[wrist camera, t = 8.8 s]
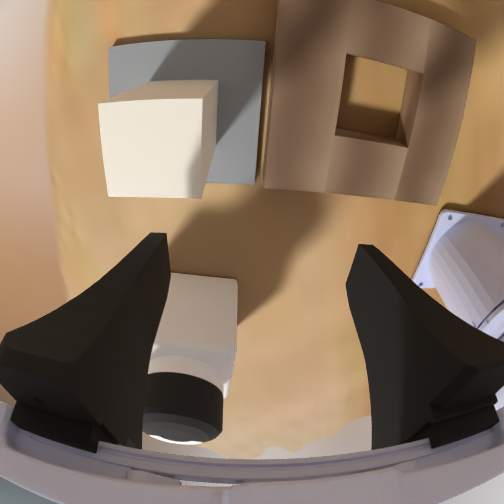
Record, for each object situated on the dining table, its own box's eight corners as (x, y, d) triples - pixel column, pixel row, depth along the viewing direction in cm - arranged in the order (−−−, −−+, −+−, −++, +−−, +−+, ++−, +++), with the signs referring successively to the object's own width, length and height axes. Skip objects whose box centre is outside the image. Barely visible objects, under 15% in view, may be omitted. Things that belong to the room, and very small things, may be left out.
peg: (218, 80, 15) (202, 98, 10) (216, 145, 18) (201, 198, 12) (149, 81, 15) (98, 103, 10) (151, 144, 18) (108, 196, 12)
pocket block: (458, 37, 13) (475, 40, 11) (424, 192, 20) (436, 205, 19) (278, -12, 12) (282, -19, 11) (262, 175, 20) (264, 188, 18)
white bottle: (149, 267, 24) (109, 405, 15) (238, 277, 25) (236, 422, 15) (155, 324, 28) (131, 442, 19) (229, 333, 29) (226, 454, 19)
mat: (265, 41, 15) (265, 41, 14) (254, 181, 20) (254, 184, 20) (111, 46, 14) (108, 47, 14) (120, 179, 19) (117, 182, 19)
